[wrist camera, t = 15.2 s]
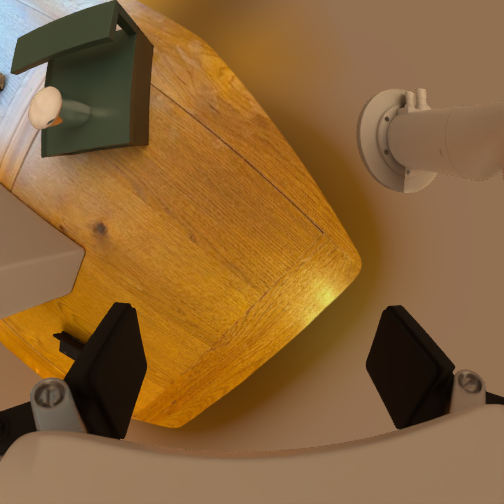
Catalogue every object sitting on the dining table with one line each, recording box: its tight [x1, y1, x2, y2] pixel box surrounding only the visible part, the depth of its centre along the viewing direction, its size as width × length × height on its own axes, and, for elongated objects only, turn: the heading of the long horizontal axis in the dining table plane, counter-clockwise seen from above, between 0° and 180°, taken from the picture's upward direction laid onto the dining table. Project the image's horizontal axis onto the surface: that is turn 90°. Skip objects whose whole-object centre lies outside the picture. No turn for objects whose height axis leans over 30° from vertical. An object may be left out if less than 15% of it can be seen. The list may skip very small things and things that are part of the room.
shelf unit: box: [10, 0, 153, 158], centre depth 26 cm, size 16×14×16 cm
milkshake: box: [28, 86, 90, 129], centre depth 22 cm, size 4×5×10 cm
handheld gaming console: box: [53, 331, 85, 360], centre depth 45 cm, size 12×7×10 cm
